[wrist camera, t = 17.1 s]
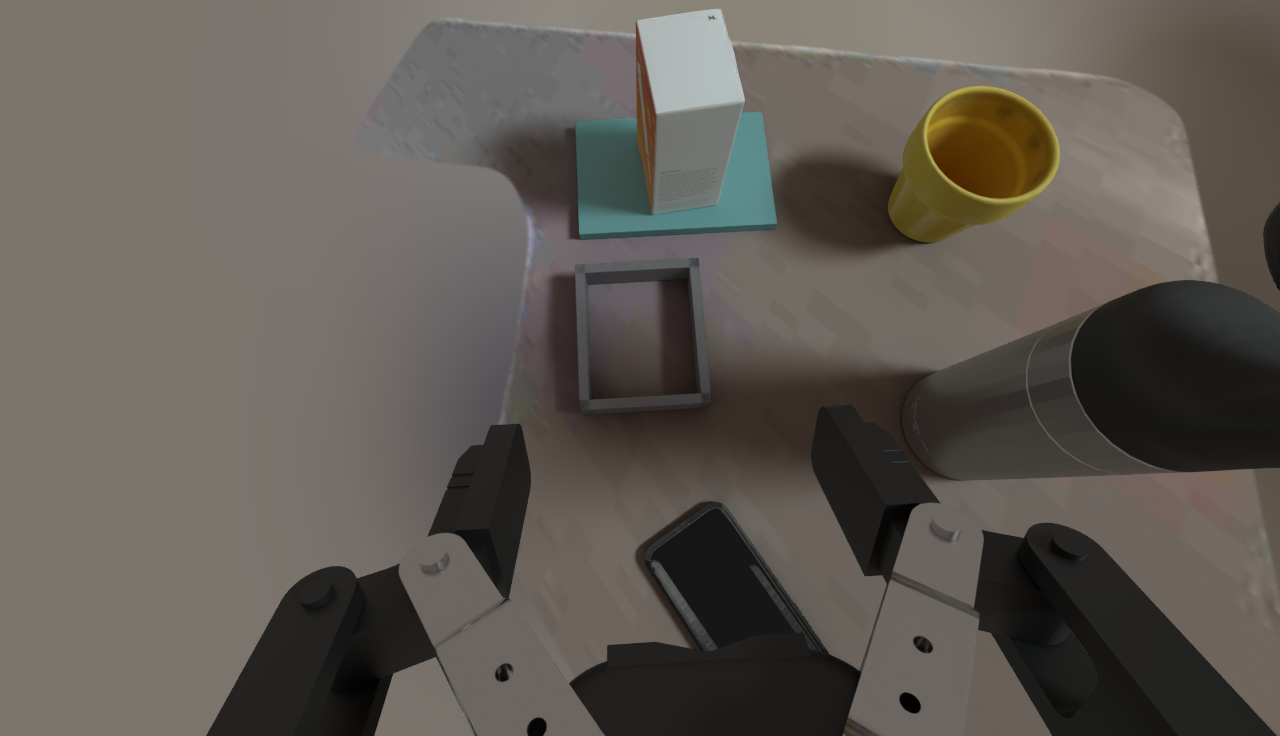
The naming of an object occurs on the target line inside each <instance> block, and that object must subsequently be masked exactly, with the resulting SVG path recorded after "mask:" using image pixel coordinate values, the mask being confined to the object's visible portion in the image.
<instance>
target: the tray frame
mask: <svg viewBox="0 0 1280 736" xmlns="http://www.w3.org/2000/svg"><path fill="white" fill-rule="evenodd" d="M681 279H687V284H688V296H689V307H690V318H691V329H692V341H693V352H694V363H695V375H696V386H697V393H696V394H679V395H661V396H644V397H627V398H610V399H593V400H592V390H591V363H590V336H589V310H588V285H591V284H609V283H627V282H645V281H663V280H681ZM575 281H576V313H577V344H578V376H579V408H580V411H581V413H582V414H583V415H590V414H607V413H624V412H640V411H657V410H674V409H691V408H708V407H709V405H710V404H711V403H712V398H711V387H710V377H709V366H708V356H707V345H706V335H705V324H704V314H703V303H702V293H701V282H700V272H699V261H698V258H691V259H673V260H655V261H636V262H618V263H600V264H581V265H575Z"/></svg>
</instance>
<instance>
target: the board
mask: <svg viewBox="0 0 1280 736" xmlns="http://www.w3.org/2000/svg"><path fill="white" fill-rule="evenodd" d="M575 126H576V155H577V184H578V214H579V236H580V240H583V239H602V238H620V237H639V236H658V235H676V234H695V233H713V232H732V231H750V230H769V229H775V227H776V225H777V219H776V211H775V204H774V197H773V190H772V183H771V175H770V168H769V161H768V154H767V147H766V139H765V132H764V125H763V118H762V112H748V113H741V117H740V121H739V125H738V128H737V132H736V136H735V140H734V144H733V148H732V151H731V155H730V159H729V163H728V166H727V170H726V174H725V178H724V181H723V185H722V189H721V193H720V197H719V201H718V204H717V205H714V206H708V207H702V208H696V209H689V210H683V211H676V212H670V213H664V214H658V215H652V213H651V207H650V202H649V196H648V191H647V186H646V181H645V176H644V171H643V166H642V161H641V157H640V152H639V148H638V145H637V118H628V119H608V120H588V121H575Z"/></svg>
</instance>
